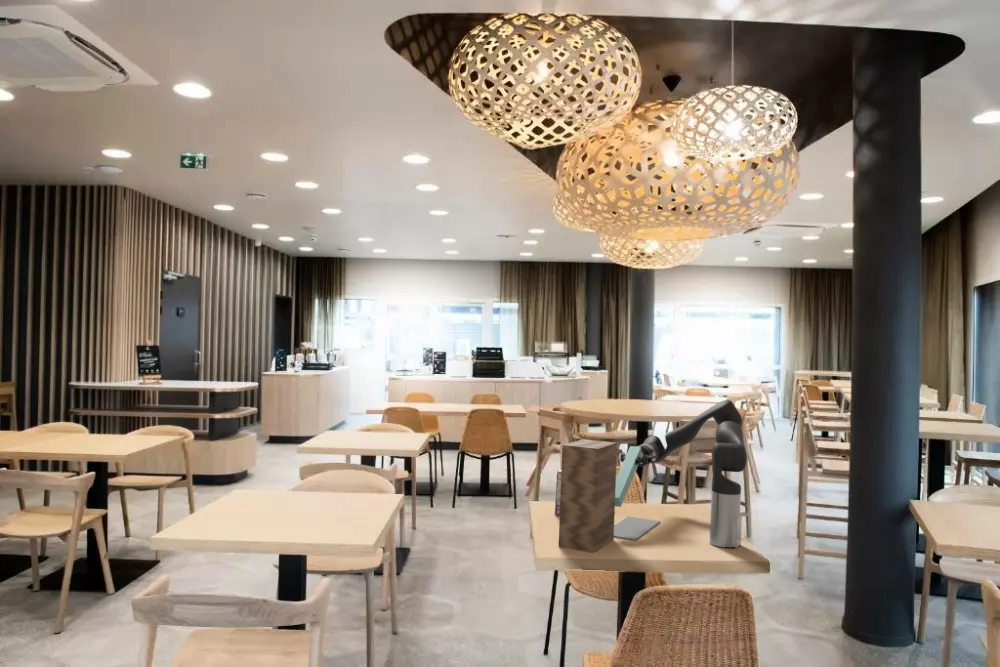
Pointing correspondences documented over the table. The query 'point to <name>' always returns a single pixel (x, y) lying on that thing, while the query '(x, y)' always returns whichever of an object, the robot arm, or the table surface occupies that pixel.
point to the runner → (633, 528)
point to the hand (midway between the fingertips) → (629, 461)
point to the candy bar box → (558, 493)
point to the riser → (587, 495)
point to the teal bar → (626, 474)
